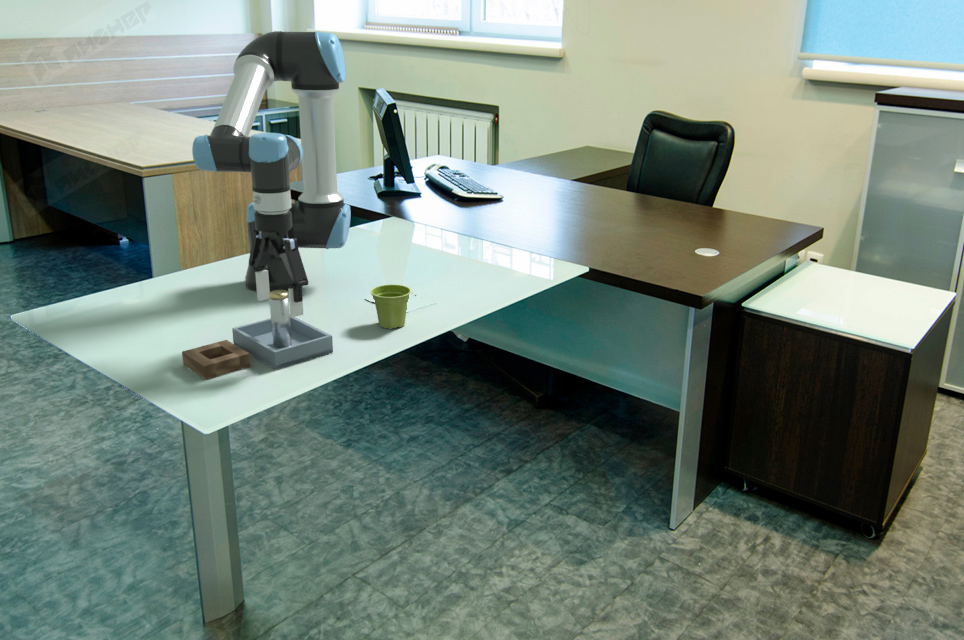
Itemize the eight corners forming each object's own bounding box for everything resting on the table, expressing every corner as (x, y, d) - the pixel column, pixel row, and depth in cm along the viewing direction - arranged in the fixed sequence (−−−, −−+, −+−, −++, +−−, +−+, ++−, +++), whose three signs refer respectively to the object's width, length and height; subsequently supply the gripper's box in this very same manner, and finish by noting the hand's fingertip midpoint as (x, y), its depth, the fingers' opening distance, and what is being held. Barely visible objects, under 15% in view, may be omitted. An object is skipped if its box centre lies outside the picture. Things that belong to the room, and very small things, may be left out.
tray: (289, 329, 190) (288, 313, 189) (333, 352, 178) (332, 335, 177) (233, 345, 181) (232, 328, 180) (276, 370, 169) (274, 352, 168)
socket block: (227, 352, 177) (226, 339, 176) (250, 366, 170) (249, 353, 169) (183, 364, 171) (181, 351, 169) (205, 380, 164) (204, 366, 163)
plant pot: (400, 334, 189) (399, 299, 186) (364, 328, 192) (363, 293, 189) (418, 321, 197) (417, 287, 194) (383, 316, 200) (382, 282, 197)
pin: (285, 339, 182) (281, 288, 178) (295, 344, 179) (291, 293, 175) (269, 344, 179) (265, 292, 175) (279, 349, 177) (275, 297, 172)
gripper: (227, 202, 174) (235, 296, 182) (289, 224, 158) (295, 327, 165) (258, 197, 179) (265, 289, 187) (322, 218, 163) (327, 318, 170)
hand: (280, 307), depth 176 cm, fingers open, 13 cm apart
